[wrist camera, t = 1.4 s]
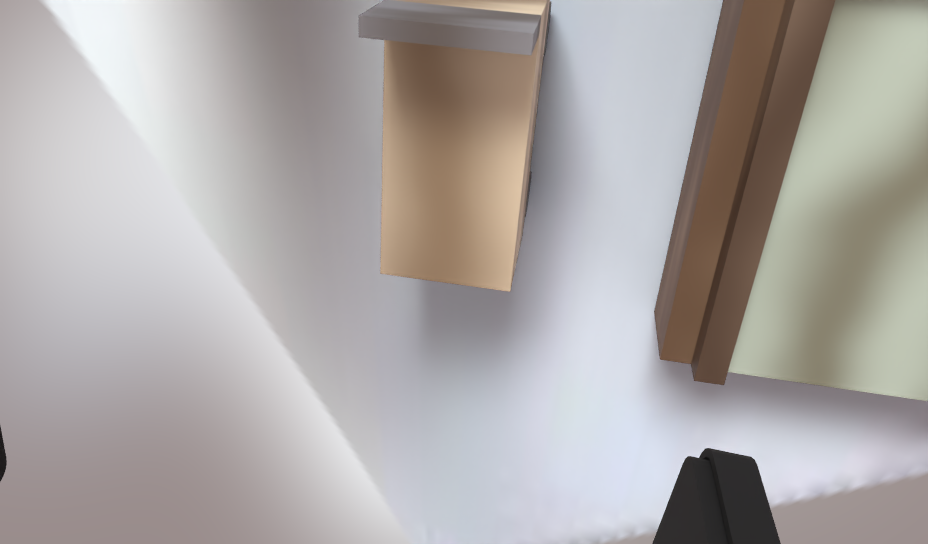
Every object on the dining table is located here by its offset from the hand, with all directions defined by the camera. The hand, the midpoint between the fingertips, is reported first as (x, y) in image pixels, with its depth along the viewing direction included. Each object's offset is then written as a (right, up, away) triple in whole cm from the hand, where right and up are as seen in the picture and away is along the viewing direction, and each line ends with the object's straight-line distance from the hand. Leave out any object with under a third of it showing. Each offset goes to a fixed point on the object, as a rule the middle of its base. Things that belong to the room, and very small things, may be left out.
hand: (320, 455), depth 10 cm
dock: (+18, +8, +21) cm, 29 cm away
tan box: (+3, +10, +22) cm, 25 cm away
